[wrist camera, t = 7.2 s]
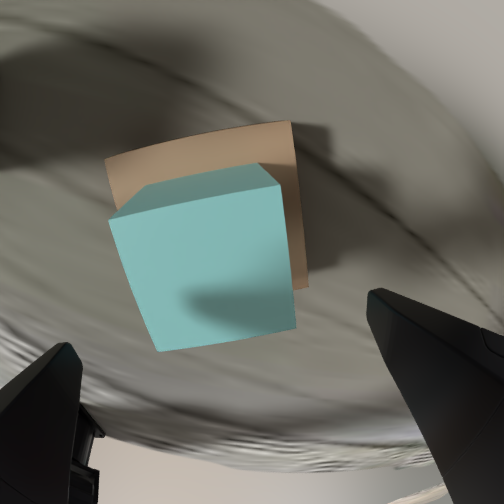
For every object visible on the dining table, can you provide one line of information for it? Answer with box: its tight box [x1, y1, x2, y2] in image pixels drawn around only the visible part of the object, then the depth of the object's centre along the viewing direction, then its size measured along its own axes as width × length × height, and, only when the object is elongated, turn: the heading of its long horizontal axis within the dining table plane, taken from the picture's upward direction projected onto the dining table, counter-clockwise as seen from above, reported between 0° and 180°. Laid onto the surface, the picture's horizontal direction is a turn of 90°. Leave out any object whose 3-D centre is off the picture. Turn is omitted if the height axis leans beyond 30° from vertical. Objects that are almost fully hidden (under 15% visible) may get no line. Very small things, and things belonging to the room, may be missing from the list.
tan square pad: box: [104, 120, 309, 290], centre depth 18 cm, size 10×10×3 cm
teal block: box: [108, 163, 296, 352], centre depth 14 cm, size 6×6×6 cm
